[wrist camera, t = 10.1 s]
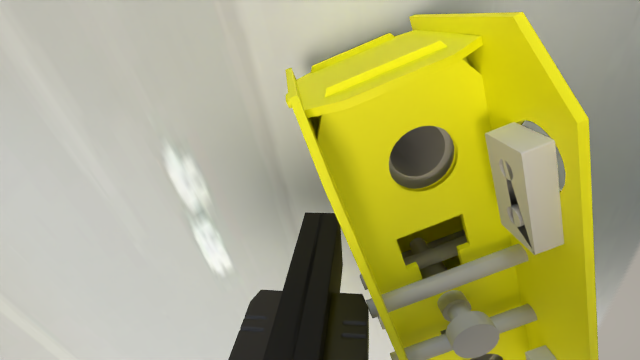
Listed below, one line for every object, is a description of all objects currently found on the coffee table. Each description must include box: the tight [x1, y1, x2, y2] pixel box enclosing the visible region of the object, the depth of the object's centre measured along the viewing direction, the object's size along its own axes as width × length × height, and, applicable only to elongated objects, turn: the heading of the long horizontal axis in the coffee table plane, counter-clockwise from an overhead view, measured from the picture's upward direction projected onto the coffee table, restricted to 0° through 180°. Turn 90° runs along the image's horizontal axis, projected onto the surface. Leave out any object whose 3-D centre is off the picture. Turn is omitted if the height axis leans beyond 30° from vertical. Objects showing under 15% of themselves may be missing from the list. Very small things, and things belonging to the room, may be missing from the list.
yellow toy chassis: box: [286, 12, 598, 360], centre depth 13 cm, size 16×6×8 cm, turn 22°
